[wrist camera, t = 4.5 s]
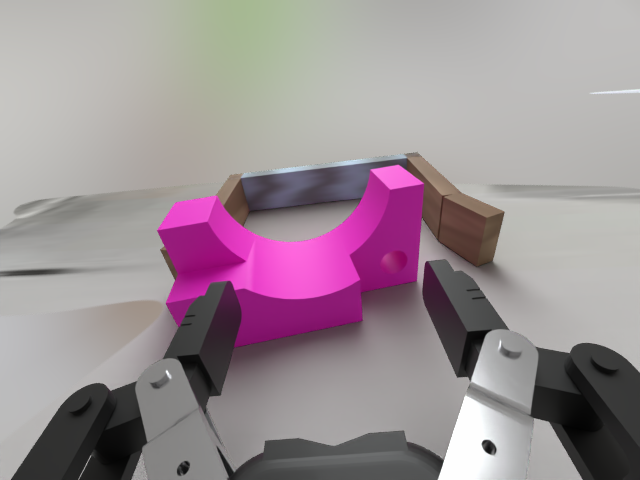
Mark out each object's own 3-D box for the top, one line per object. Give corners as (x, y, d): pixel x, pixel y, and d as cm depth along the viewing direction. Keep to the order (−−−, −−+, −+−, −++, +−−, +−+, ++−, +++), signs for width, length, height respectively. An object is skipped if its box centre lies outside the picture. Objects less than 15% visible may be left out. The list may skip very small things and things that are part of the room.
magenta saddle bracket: (195, 358, 18) (140, 256, 14) (211, 290, 23) (175, 202, 19) (433, 308, 19) (447, 200, 15) (396, 254, 24) (398, 164, 20)
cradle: (178, 296, 22) (156, 253, 20) (229, 208, 35) (219, 176, 33) (496, 264, 21) (509, 215, 19) (426, 185, 34) (428, 150, 32)
